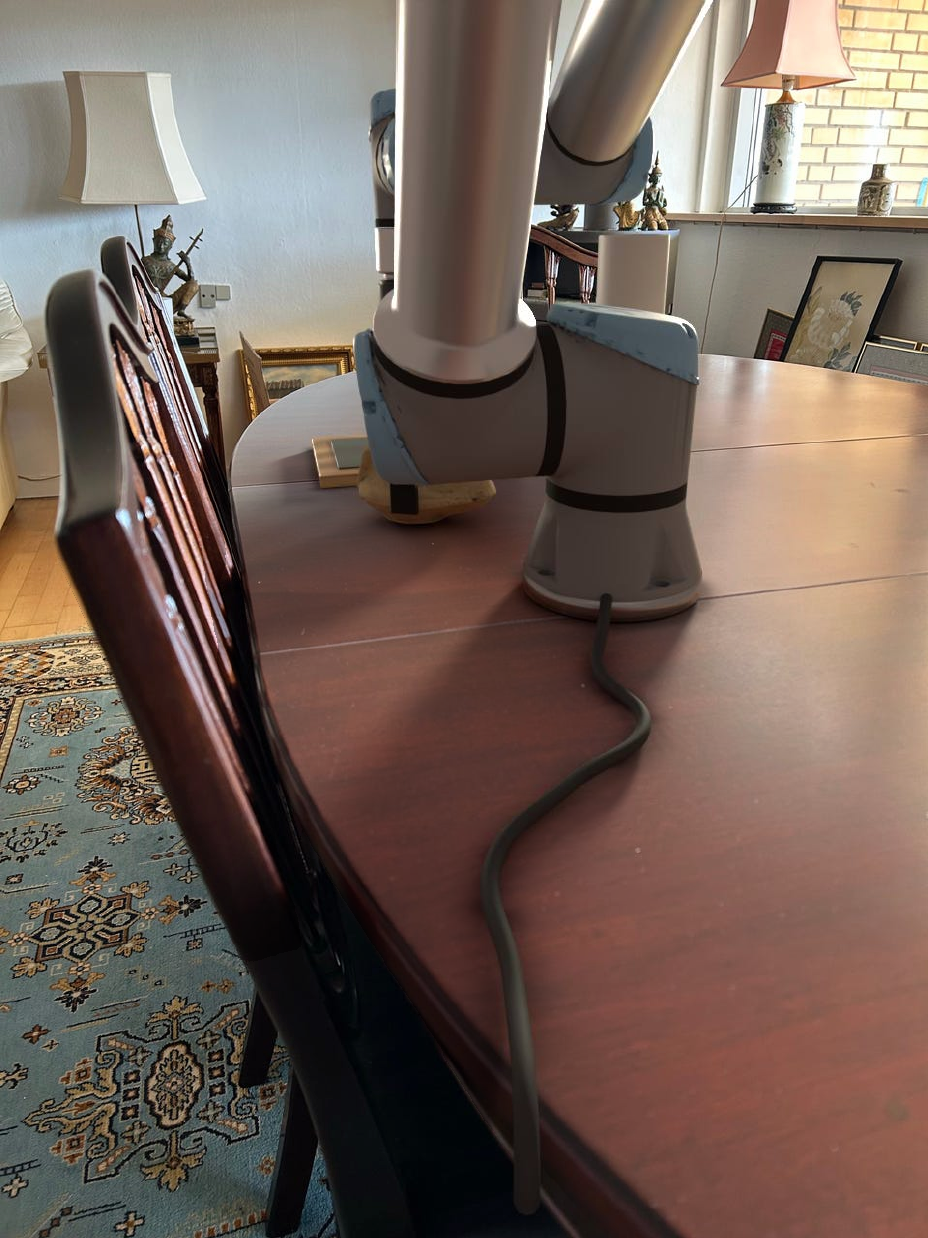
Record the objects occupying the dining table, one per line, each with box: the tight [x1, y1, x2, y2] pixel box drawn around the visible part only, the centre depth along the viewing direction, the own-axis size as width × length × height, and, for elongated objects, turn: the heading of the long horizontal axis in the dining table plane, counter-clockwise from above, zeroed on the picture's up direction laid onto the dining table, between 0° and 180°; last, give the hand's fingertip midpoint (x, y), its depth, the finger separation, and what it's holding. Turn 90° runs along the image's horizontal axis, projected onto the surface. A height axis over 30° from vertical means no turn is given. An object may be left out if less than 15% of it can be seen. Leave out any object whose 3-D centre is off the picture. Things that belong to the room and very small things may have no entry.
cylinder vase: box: [595, 233, 671, 315], centre depth 164 cm, size 12×12×25 cm
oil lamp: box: [355, 444, 497, 525], centre depth 94 cm, size 11×15×8 cm
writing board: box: [311, 434, 369, 489], centre depth 117 cm, size 20×16×2 cm
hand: (424, 496), depth 95 cm, fingers closed on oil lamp, 11 cm apart
